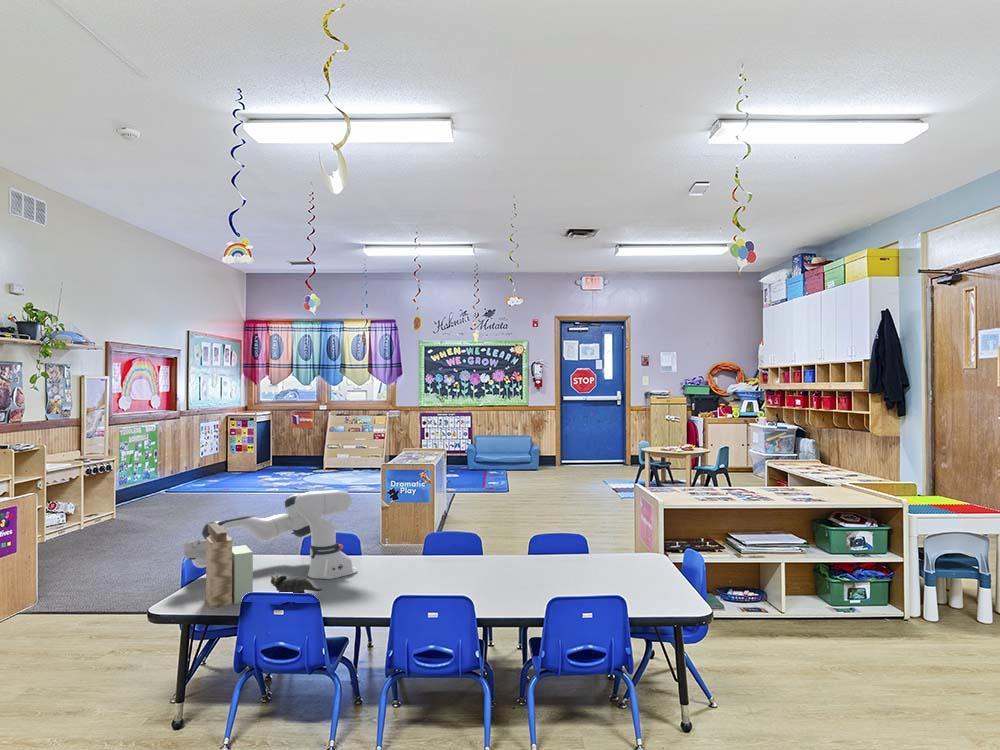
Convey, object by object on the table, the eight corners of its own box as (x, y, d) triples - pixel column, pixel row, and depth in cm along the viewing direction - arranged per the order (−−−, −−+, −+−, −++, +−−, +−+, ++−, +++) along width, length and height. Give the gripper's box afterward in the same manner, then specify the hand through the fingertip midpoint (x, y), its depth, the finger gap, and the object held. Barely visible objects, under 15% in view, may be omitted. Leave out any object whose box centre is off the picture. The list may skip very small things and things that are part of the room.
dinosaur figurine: (323, 597, 268) (323, 570, 268) (317, 604, 260) (317, 576, 260) (270, 598, 268) (270, 570, 268) (263, 604, 260) (263, 576, 260)
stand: (227, 596, 270) (227, 534, 270) (232, 604, 260) (232, 540, 261) (205, 600, 265) (205, 537, 266) (210, 608, 256) (210, 542, 256)
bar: (216, 530, 277) (216, 522, 277) (226, 541, 259) (226, 532, 259) (207, 532, 275) (207, 523, 275) (217, 542, 257) (217, 533, 257)
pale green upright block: (245, 591, 277) (245, 544, 277) (253, 600, 265) (253, 552, 265) (227, 594, 273) (227, 547, 273) (234, 604, 261) (234, 554, 261)
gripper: (230, 553, 294) (236, 543, 284) (181, 560, 283) (185, 550, 273) (229, 540, 297) (234, 529, 287) (180, 546, 286) (184, 535, 276)
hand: (210, 539), depth 280 cm, fingers open, 8 cm apart
